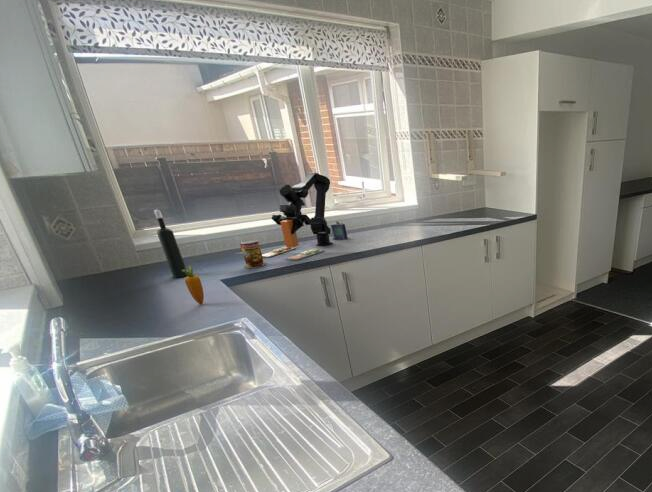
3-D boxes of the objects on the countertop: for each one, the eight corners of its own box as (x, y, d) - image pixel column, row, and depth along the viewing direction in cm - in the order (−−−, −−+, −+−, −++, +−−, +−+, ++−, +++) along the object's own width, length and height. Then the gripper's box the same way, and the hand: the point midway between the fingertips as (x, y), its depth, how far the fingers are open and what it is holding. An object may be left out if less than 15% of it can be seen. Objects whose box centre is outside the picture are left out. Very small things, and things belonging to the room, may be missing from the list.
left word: (286, 248, 241) (285, 245, 240) (295, 248, 239) (295, 246, 238) (258, 256, 225) (257, 253, 224) (268, 257, 223) (267, 254, 222)
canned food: (249, 268, 204) (241, 244, 199) (245, 265, 210) (237, 241, 205) (266, 265, 209) (259, 241, 204) (262, 262, 214) (255, 238, 209)
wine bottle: (186, 276, 195) (162, 210, 182) (172, 278, 193) (146, 211, 180) (189, 273, 200) (166, 208, 187) (175, 275, 198) (150, 209, 185)
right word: (313, 250, 234) (312, 247, 233) (323, 251, 232) (322, 248, 231) (286, 259, 218) (286, 256, 218) (297, 260, 216) (296, 257, 215)
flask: (332, 239, 259) (328, 221, 254) (334, 238, 262) (331, 220, 257) (346, 239, 258) (343, 221, 253) (348, 238, 261) (345, 220, 256)
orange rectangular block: (291, 244, 219) (286, 219, 214) (298, 245, 219) (293, 219, 213) (286, 247, 215) (280, 221, 209) (293, 247, 214) (287, 221, 209)
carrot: (197, 307, 158) (183, 269, 152) (191, 305, 161) (177, 267, 154) (211, 303, 162) (198, 265, 155) (204, 301, 164) (191, 264, 158)
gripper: (268, 198, 211) (260, 224, 206) (303, 197, 209) (296, 224, 204) (281, 211, 222) (274, 237, 217) (314, 211, 219) (308, 237, 214)
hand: (288, 233), depth 213 cm, fingers closed on orange rectangular block, 4 cm apart
